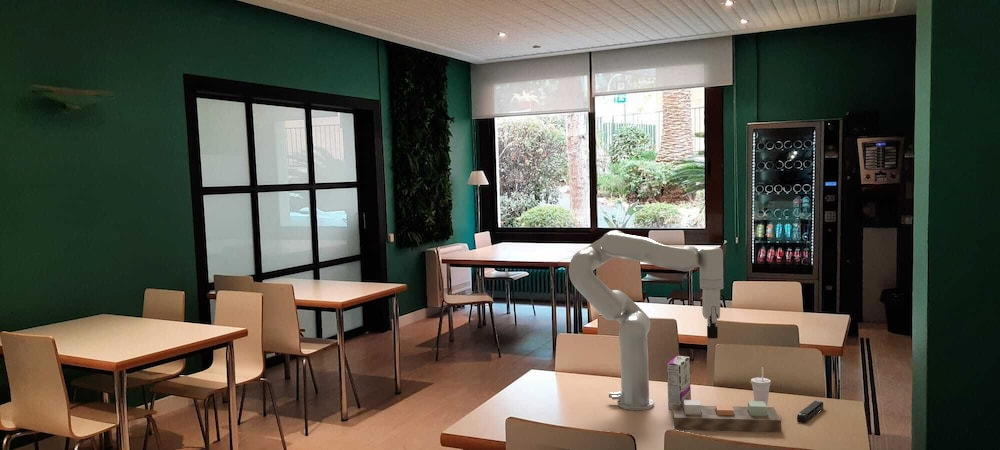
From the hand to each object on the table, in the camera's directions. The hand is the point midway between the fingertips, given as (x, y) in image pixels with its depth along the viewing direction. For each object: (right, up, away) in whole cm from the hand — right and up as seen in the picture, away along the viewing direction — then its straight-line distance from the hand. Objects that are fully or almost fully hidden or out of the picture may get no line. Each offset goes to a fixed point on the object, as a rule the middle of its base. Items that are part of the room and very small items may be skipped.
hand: (712, 337), depth 235 cm
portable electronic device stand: (+30, -25, -6) cm, 40 cm away
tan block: (0, -25, -11) cm, 27 cm away
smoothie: (+17, -25, +3) cm, 30 cm away
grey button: (-9, -23, -10) cm, 27 cm away
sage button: (+10, -23, -13) cm, 28 cm away
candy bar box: (-9, -25, +8) cm, 28 cm away
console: (0, -26, -11) cm, 28 cm away
